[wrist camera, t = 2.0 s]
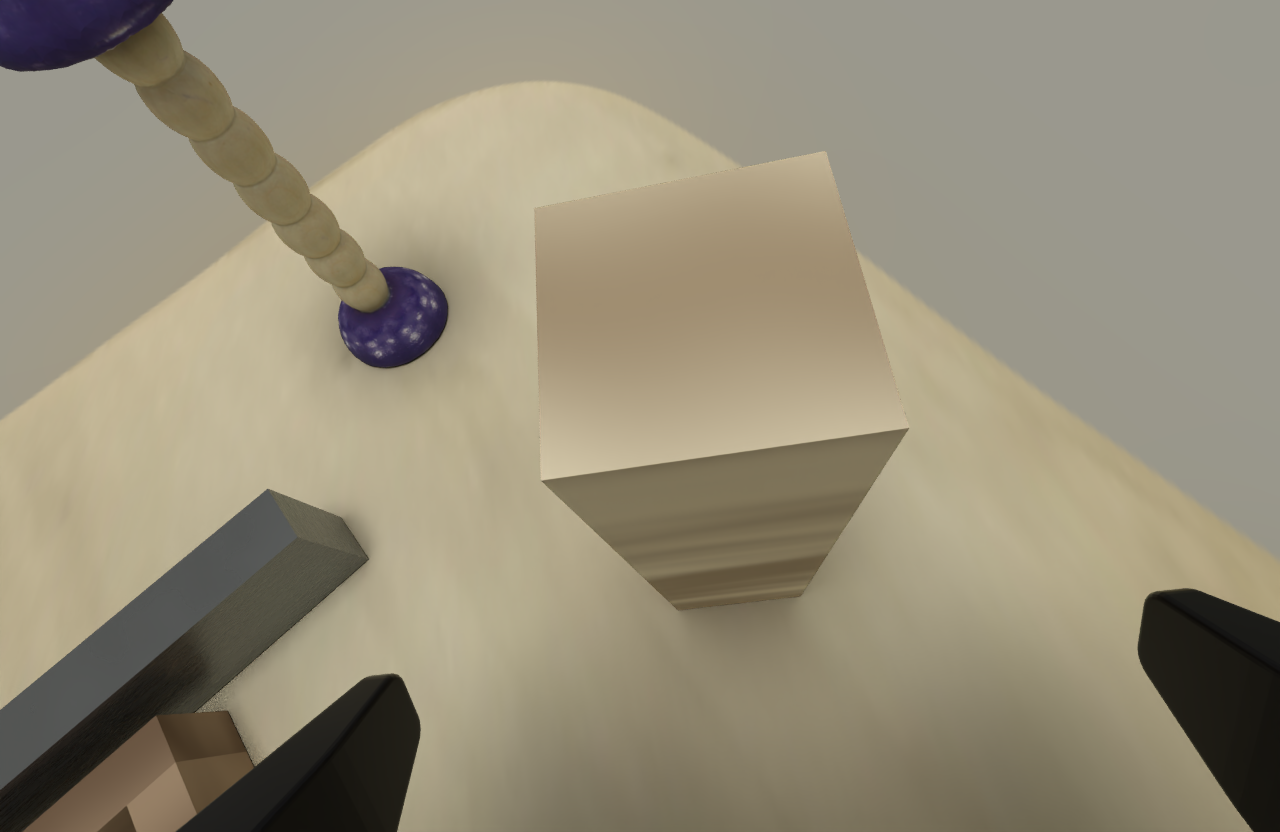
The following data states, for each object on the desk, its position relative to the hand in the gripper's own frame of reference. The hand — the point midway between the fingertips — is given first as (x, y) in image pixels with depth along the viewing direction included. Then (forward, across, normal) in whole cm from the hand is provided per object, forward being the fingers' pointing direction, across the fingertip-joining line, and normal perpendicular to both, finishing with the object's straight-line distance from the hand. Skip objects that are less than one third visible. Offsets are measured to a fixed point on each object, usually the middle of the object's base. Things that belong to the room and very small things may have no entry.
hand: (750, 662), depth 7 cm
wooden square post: (+10, 0, +5) cm, 11 cm away
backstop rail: (+6, +21, +8) cm, 24 cm away
